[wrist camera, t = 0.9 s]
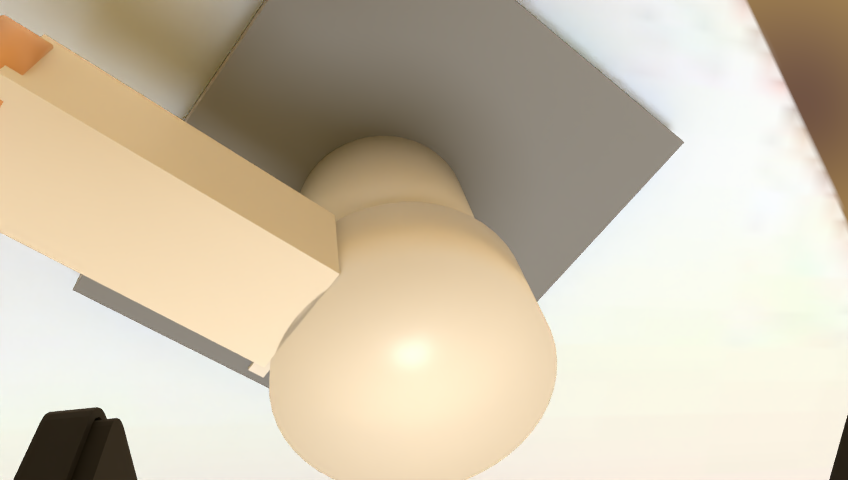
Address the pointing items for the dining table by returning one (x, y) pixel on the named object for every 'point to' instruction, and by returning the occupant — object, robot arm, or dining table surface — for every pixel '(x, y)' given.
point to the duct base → (426, 127)
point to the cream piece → (280, 275)
